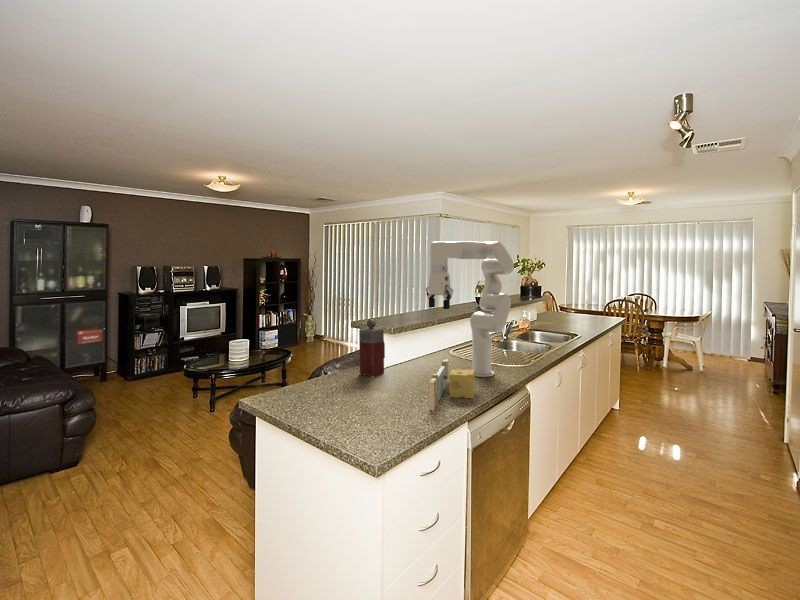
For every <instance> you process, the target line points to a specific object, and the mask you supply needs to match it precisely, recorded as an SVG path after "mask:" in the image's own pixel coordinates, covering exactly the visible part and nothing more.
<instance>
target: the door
mask: <svg viewBox="0 0 800 600" xmlns="http://www.w3.org/2000/svg"><path fill="white" fill-rule="evenodd" d="M436 374H438V402H439V400H440V399H441V397H442V395H443V393H444V392H445V389H446V388H445V379H447V375H445V366H442V365H441V366H440V368H439V370H437V372H436Z"/></svg>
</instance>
